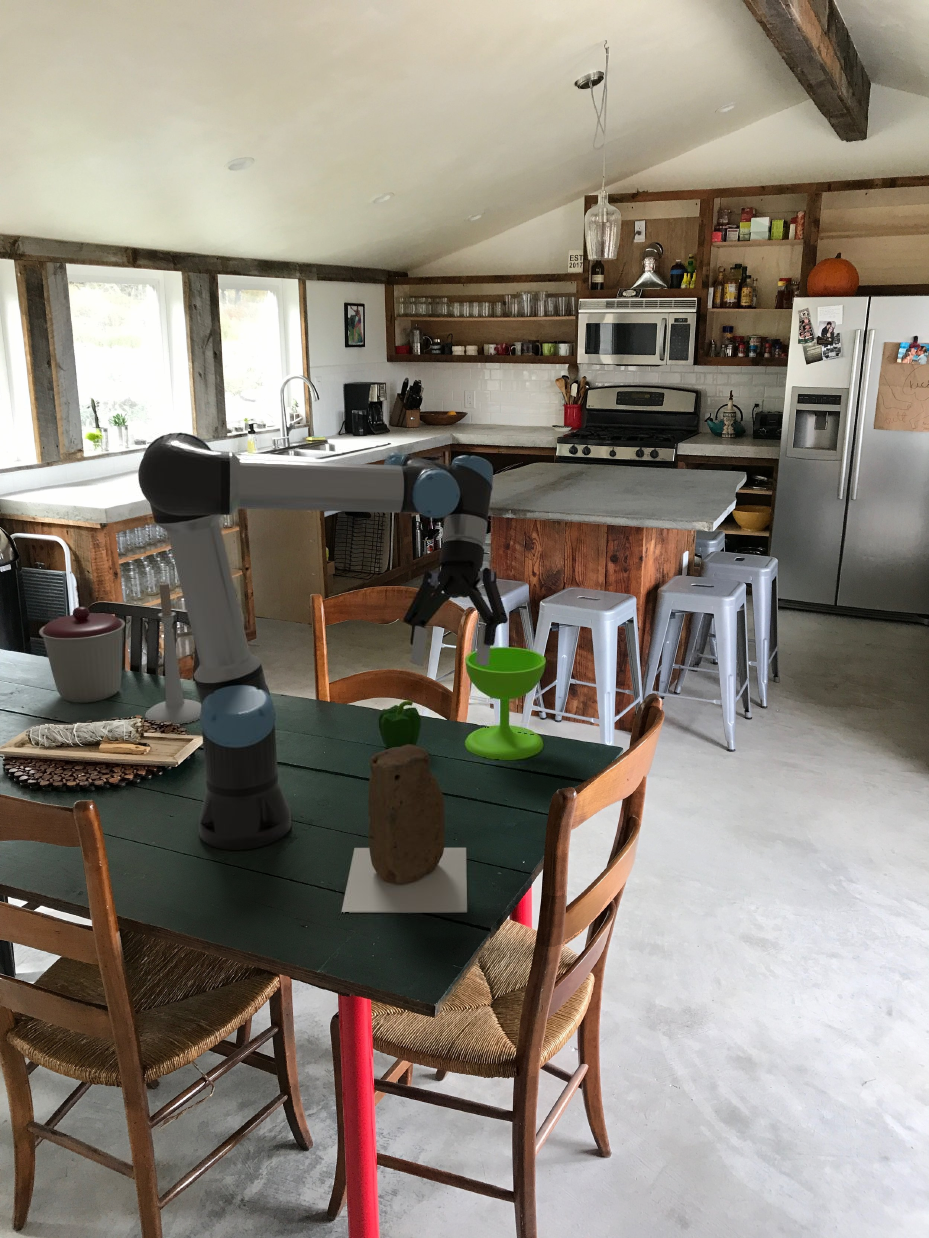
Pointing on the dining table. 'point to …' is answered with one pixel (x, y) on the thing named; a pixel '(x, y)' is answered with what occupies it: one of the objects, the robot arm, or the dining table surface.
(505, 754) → the wineglass
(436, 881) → the tile
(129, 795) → the dining table surface
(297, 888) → the dining table surface
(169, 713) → the candlestick
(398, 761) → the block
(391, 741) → the bell pepper
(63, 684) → the canister
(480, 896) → the dining table surface
